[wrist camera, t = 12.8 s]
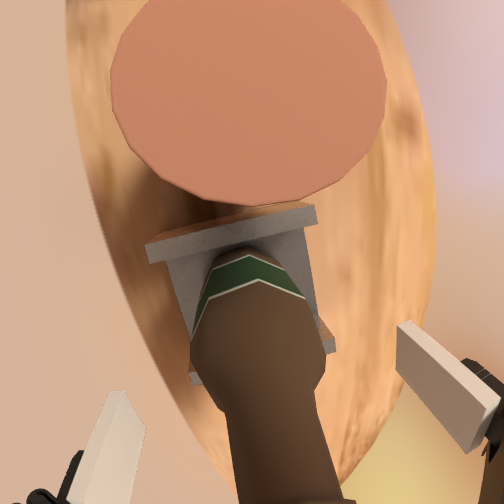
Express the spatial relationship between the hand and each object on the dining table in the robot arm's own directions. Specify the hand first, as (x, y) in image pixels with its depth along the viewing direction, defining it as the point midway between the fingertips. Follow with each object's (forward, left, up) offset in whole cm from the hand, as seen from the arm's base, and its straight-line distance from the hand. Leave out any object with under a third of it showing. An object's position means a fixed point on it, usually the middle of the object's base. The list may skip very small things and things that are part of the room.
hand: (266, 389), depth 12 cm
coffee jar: (-13, +2, -18) cm, 22 cm away
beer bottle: (0, 0, -16) cm, 16 cm away
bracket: (0, 0, -17) cm, 17 cm away
